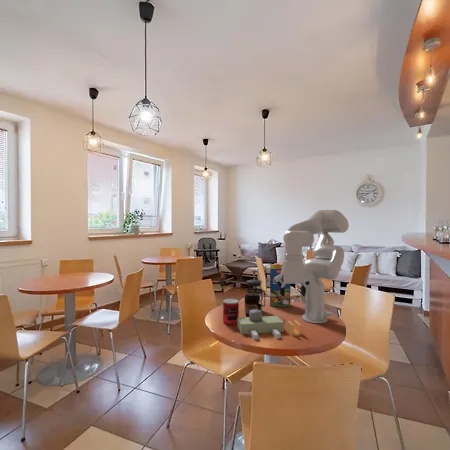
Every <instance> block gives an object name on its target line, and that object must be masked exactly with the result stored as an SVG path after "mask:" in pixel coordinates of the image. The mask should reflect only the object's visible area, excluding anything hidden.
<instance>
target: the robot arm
mask: <svg viewBox="0 0 450 450" xmlns="http://www.w3.org/2000/svg"><path fill="white" fill-rule="evenodd" d="M349 227H350V226H349V221H348V219H347V218H346V216H345V215H344V214H343V213H342V212H340V211H339V210H338V209H319V210H317V211H315V212H314V213H313V214H312V215H311V216H310V217H309V218H308V219H307V220H303V221H301V222H298V223H296V224H293V225H291V226H290V227H289V228H288V229H286V231H285V233H284V234H283V242H284V245H285V246H284V260H283V261H282V264H281V265H282V270H281V274H280V275H278V276H276V277H275V278H274V279H275V281H276V283H277V284H278V285H279V286H280V294H281V296H283V297H284V296H285V288H284V286H285V284H286V283H287V284H290V285H292V284H294V285H295V284H300V285H301V286H300V295H301V296H303V297H304V314H302V315H301V319H302V320H303V321H305V322H308V323H312V324H325V323H327V322H328V317H333V316H334V312H332V311H331V312H330V311H327V310H326V311H325V285H324V283H323V280H322V279H326V280H336V279H337V278H338V276H339V273H340V272H341V269H342V266H343V263H344V260H345V250H344V248H343V247H342V246H340V245H335V241H334V239H333V237H332V236H331V234H329V233H336V234H337V233H338V234H341V233H346V232H348V230H349ZM314 235H317V236H318V239H317V242H316V244H315V247H314V249H313V252H312V258H308V259H306V260H305V255H303V247H304V248H308V247H312V246H313V244H314V242H315V236H314ZM303 260H305V261H303ZM280 278H281V281H282V282H281V283H280V282H279V279H280Z"/></svg>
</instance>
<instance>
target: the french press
mask: <svg viewBox="0 0 450 450" xmlns="http://www.w3.org/2000/svg"><path fill="white" fill-rule="evenodd" d="M250 272H251V273H252V274H253V275H255V274H256V273H257V272H258V270H254V269H253V270H250ZM262 282H263V281H262V280H261V279H259V280H258V279H247V280H246V284H247V286H249V287H248V288H246V289H245V294H246V293H258V294H259V295H260V300H259V310H261V311H262V312H263V307H264V308H265V307H266V290H265V289H261V288H258V287H260V286H262ZM263 292H264V294H263ZM262 294H263V295H264V298H263V297H262V296H263V295H262ZM262 299H263V300H262ZM262 301H264V303H263V302H262Z"/></svg>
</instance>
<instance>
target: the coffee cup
mask: <svg viewBox="0 0 450 450" xmlns="http://www.w3.org/2000/svg"><path fill="white" fill-rule="evenodd" d="M243 299H244V310H245V311H244V312H245V317H249V311H250V310H253V309H257V310H259V304H260V302H259V300H260V299H261V295H260V294H258V293H246V292H245V295H244V298H243Z"/></svg>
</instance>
